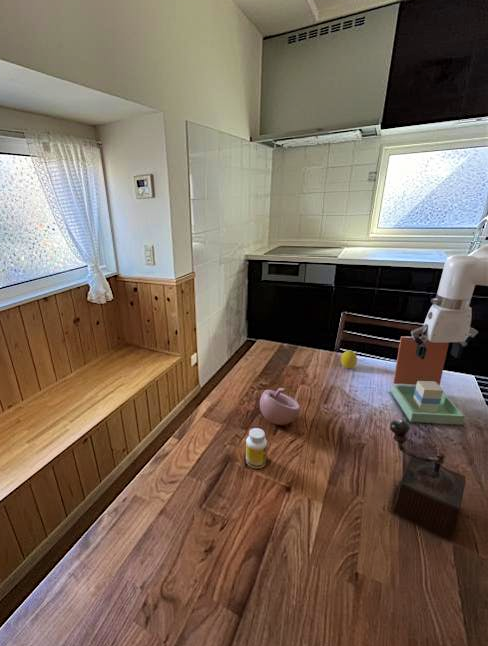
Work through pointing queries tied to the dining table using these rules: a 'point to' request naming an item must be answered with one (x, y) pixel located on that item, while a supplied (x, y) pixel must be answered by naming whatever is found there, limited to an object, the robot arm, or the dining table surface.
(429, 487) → the manual coffee grinder
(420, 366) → the lunchbox lid
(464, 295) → the robot arm
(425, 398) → the drink carton
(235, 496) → the dining table surface
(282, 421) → the mortar and pestle
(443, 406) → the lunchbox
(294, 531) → the dining table surface
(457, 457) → the dining table surface
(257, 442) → the supplement bottle
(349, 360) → the lemon
